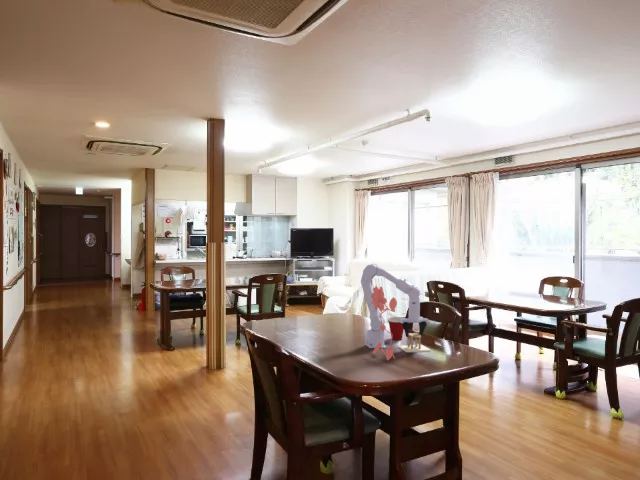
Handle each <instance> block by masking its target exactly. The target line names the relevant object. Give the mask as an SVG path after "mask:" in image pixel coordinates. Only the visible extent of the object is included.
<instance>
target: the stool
mask: <svg viewBox="0 0 640 480" xmlns="http://www.w3.org/2000/svg"><path fill="white" fill-rule="evenodd" d="M421 338H422V337H421V335H420V334H419V333H417V332H413V333H411V332H410V333H409V336H408V337H407V345H408V347H410V345H411V349H413V345H415V347H417V345H419V349H421V345H422V343H421V342H422V341H421V340H422V339H421ZM414 339H415V342H414ZM414 343H415V344H414Z"/></svg>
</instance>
